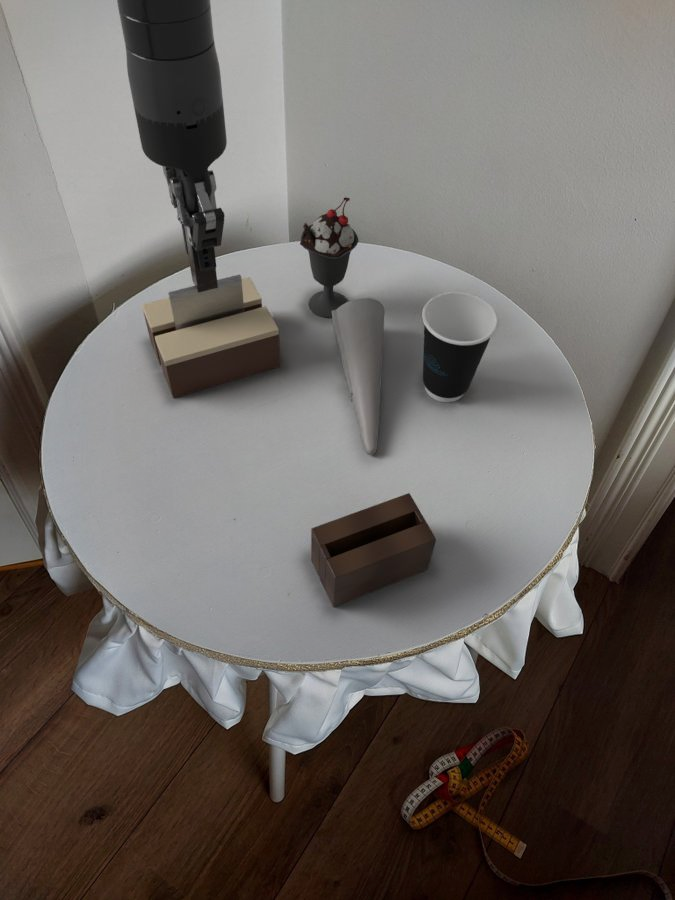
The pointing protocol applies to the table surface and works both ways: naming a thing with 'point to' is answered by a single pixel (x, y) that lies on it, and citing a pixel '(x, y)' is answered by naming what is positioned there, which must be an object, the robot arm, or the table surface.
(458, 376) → the dixie cup
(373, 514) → the knife stand
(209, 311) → the knife
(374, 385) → the long tapered cone
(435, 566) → the table surface
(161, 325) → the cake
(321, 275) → the sundae
